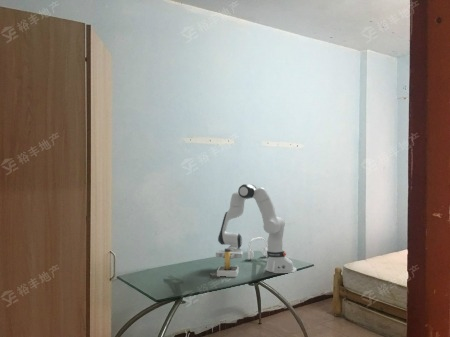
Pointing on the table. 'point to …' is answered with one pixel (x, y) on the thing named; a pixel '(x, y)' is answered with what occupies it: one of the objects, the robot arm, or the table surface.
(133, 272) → the table surface
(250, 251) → the headset
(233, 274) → the walled box
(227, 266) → the cylinder
